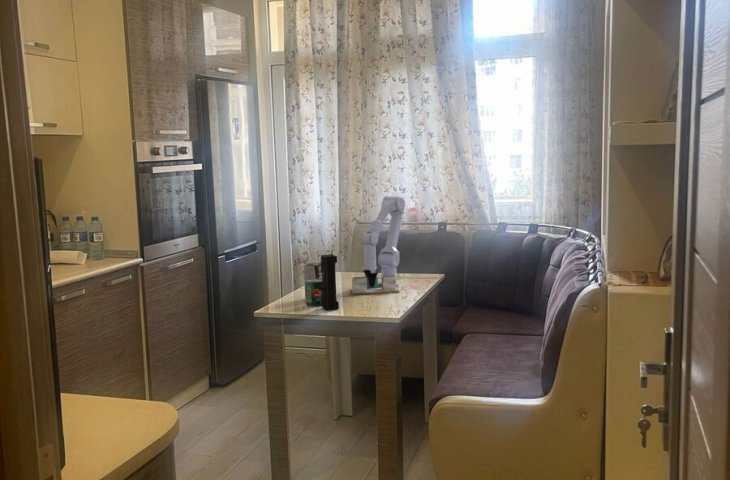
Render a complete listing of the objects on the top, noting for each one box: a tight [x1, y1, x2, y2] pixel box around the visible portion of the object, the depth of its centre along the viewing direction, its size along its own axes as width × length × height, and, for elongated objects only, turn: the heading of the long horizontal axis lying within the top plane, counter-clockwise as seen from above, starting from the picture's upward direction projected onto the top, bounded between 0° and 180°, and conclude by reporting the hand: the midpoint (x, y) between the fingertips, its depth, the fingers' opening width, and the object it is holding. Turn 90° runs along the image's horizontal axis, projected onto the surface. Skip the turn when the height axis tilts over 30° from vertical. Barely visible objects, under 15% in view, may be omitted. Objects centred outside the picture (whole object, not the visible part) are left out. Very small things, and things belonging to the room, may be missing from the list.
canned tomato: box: [304, 279, 322, 308], centre depth 297 cm, size 8×8×11 cm
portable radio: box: [320, 249, 340, 312], centre depth 288 cm, size 8×6×25 cm
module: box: [363, 275, 379, 289], centre depth 331 cm, size 4×6×6 cm
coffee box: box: [303, 262, 322, 302], centre depth 310 cm, size 9×6×16 cm
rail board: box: [349, 275, 400, 297], centre depth 322 cm, size 9×22×8 cm, turn 100°
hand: (371, 285), depth 331 cm, fingers closed on module, 4 cm apart
